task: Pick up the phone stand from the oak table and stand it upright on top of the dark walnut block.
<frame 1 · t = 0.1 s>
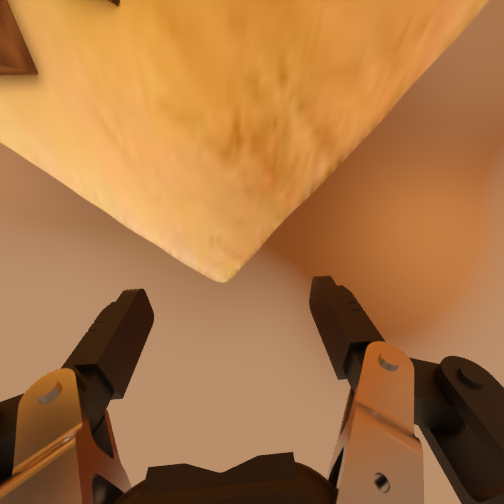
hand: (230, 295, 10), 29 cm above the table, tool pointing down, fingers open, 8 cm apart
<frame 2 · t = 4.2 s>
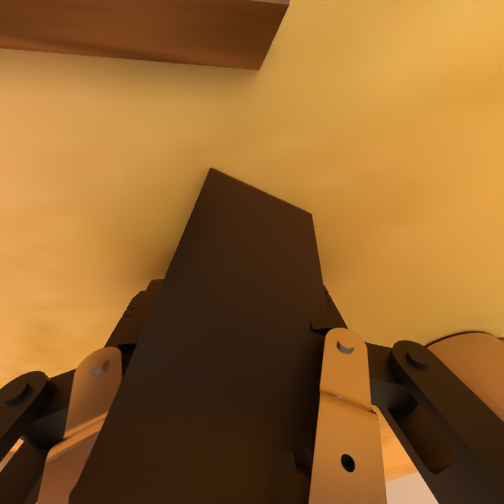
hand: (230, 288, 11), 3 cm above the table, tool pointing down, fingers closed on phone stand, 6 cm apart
phone stand: (232, 253, 14), on the table, touching gripper
when the fingers open (11 cm above the table, at t = 10.6 s): phone stand drops 1 cm, resting on walnut block.
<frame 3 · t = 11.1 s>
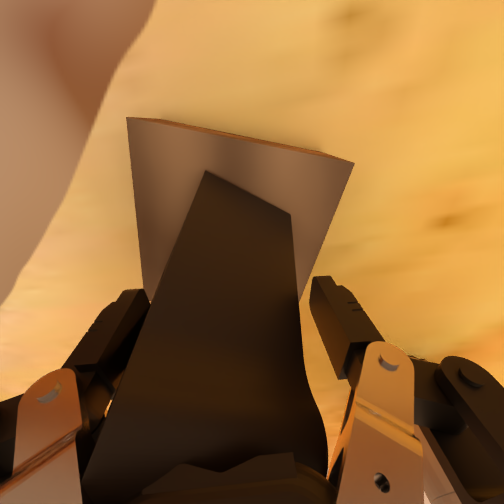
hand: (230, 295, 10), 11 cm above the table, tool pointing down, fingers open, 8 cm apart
walnut block: (234, 212, 20), on the table, touching phone stand
phone stand: (220, 246, 15), point 6 cm above the table, touching walnut block
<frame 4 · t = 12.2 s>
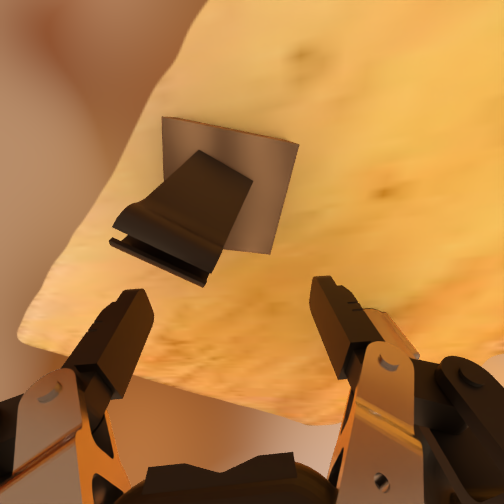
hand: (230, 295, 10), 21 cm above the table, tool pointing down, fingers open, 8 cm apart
walnut block: (227, 184, 28), on the table
phone stand: (210, 203, 23), point 6 cm above the table
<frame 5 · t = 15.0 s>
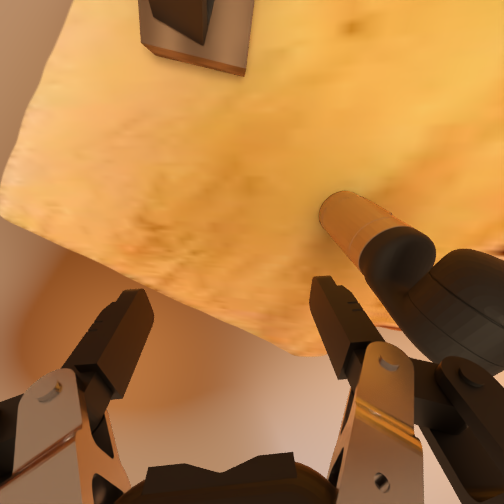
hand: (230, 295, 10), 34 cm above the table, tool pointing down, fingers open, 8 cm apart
walnut block: (204, 5, 29), on the table
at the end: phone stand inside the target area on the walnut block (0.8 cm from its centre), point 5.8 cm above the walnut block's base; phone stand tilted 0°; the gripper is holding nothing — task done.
